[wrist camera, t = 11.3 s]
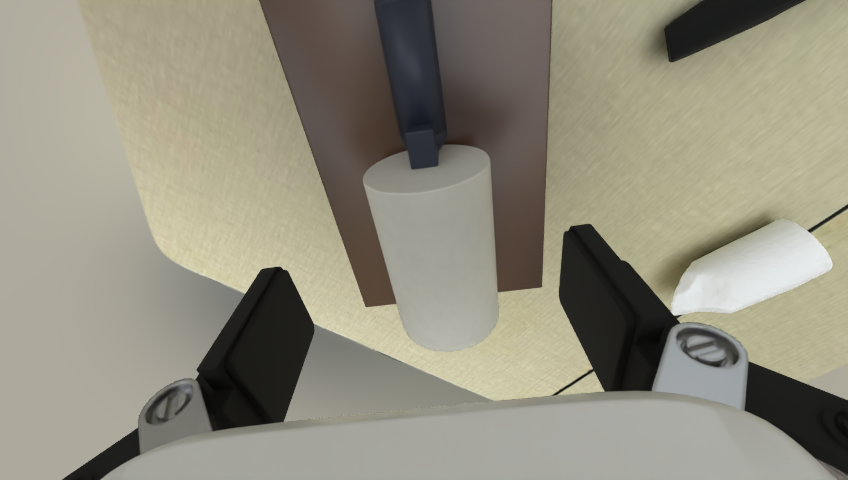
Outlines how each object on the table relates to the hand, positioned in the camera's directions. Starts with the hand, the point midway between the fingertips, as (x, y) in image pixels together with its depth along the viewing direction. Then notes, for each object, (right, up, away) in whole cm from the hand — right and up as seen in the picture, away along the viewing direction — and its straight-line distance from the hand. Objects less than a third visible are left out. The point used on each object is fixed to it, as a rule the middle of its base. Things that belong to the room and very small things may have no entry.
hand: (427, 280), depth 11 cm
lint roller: (0, +5, +6) cm, 8 cm away
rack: (0, +11, +16) cm, 19 cm away
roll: (+29, -1, +23) cm, 37 cm away
